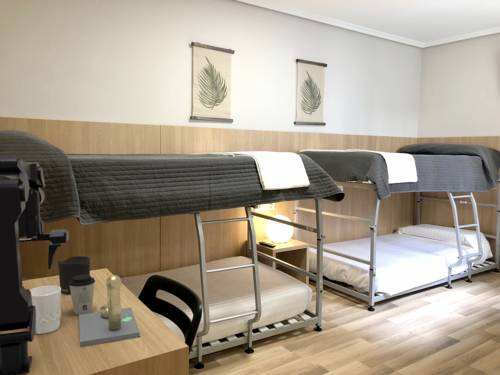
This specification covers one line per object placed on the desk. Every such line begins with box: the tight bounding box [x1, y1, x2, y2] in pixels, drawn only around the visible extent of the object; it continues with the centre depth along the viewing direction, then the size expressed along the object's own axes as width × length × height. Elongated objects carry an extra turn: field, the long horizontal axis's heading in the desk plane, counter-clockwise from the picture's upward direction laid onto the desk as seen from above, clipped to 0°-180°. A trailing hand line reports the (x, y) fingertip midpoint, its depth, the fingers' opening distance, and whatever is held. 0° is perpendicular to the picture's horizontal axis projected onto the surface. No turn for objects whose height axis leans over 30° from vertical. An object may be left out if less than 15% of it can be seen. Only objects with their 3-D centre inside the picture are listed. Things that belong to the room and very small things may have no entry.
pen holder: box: [57, 255, 91, 295], centre depth 136 cm, size 9×9×10 cm
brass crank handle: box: [100, 274, 122, 330], centre depth 108 cm, size 13×4×13 cm, turn 26°
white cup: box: [29, 284, 62, 335], centre depth 107 cm, size 8×8×10 cm
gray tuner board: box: [78, 307, 141, 348], centre depth 108 cm, size 17×14×1 cm
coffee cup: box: [68, 274, 96, 316], centre depth 118 cm, size 7×7×10 cm
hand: (30, 270), depth 110 cm, fingers open, 9 cm apart
